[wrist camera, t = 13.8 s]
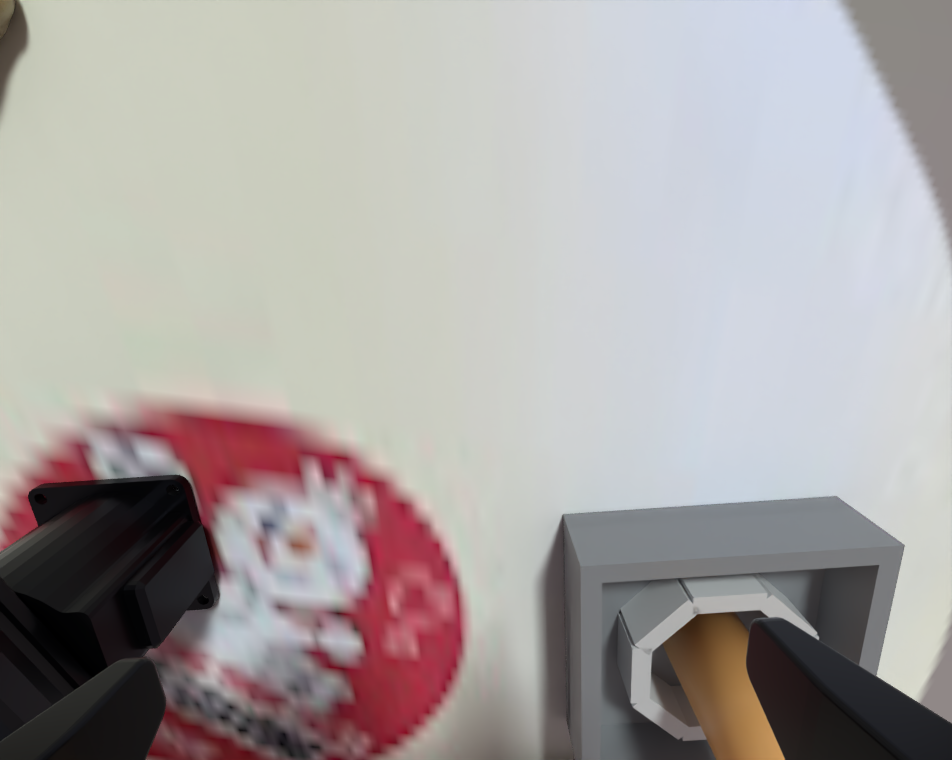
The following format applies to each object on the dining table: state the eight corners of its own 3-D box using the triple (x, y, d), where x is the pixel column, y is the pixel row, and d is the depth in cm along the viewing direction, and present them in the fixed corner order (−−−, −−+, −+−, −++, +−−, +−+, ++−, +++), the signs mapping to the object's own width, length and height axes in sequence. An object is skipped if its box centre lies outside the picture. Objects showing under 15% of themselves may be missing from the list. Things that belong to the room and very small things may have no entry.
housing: (566, 719, 25) (582, 795, 22) (563, 514, 22) (580, 566, 18) (802, 705, 25) (853, 778, 22) (836, 496, 21) (904, 545, 18)
